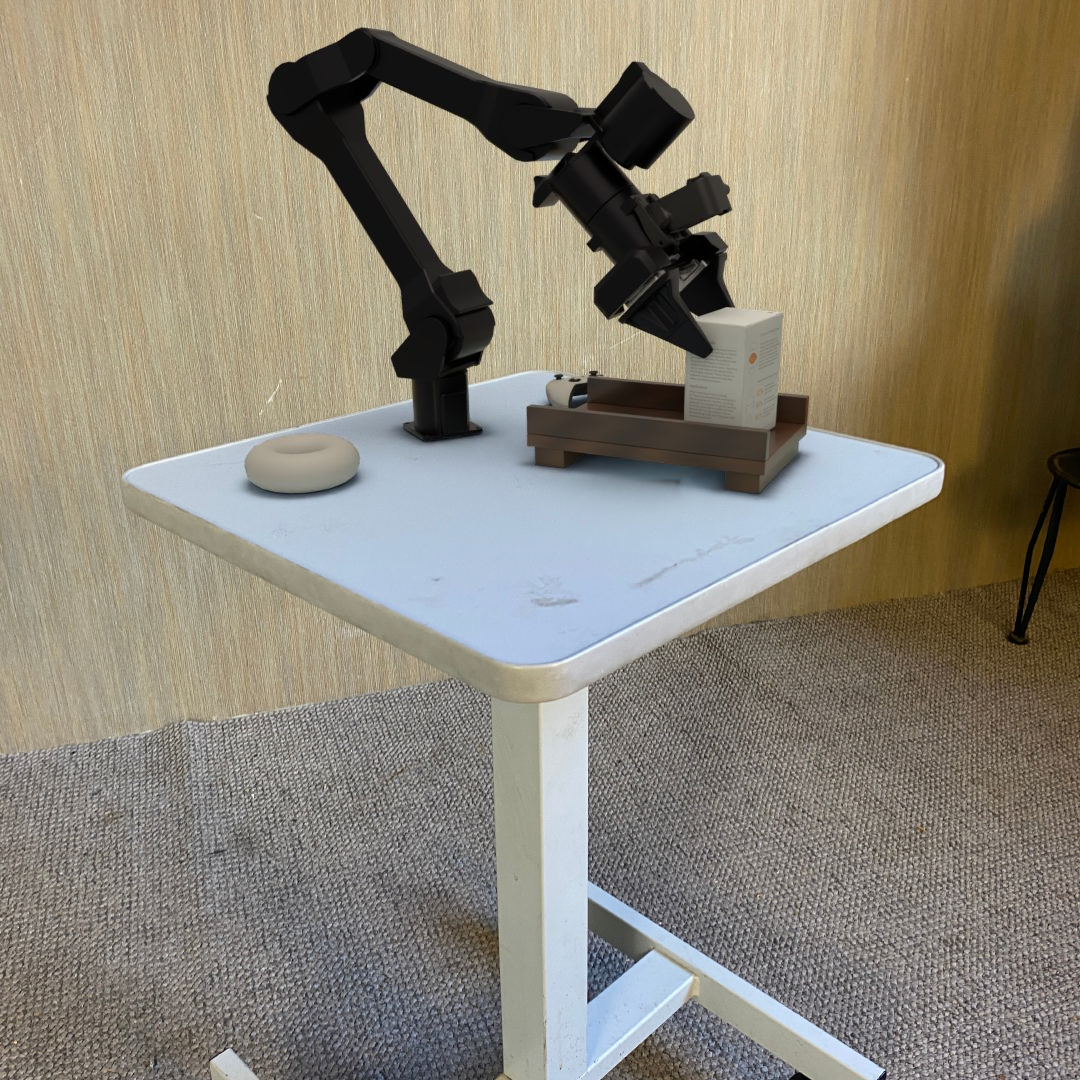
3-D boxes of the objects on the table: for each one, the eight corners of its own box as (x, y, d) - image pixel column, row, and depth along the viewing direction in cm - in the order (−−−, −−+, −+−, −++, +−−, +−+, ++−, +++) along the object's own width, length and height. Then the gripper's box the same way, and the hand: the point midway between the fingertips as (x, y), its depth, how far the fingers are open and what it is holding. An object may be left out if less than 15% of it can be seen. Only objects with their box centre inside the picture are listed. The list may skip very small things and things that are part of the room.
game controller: (562, 408, 111) (543, 362, 113) (546, 435, 116) (528, 390, 118) (639, 397, 115) (619, 353, 117) (620, 423, 120) (601, 380, 122)
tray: (527, 465, 96) (526, 406, 94) (591, 428, 107) (591, 375, 105) (763, 496, 86) (767, 432, 84) (805, 453, 98) (809, 395, 96)
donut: (317, 506, 86) (383, 470, 95) (313, 466, 85) (380, 433, 94) (222, 491, 90) (293, 458, 99) (216, 453, 89) (289, 423, 98)
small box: (720, 420, 98) (726, 306, 94) (777, 428, 95) (785, 310, 91) (680, 439, 92) (684, 318, 88) (739, 449, 89) (746, 324, 85)
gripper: (631, 140, 79) (765, 296, 78) (711, 138, 95) (823, 268, 94) (540, 244, 85) (663, 390, 85) (629, 226, 101) (733, 349, 100)
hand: (726, 345), depth 91 cm, fingers open, 9 cm apart
